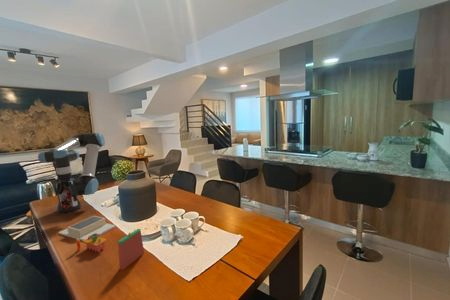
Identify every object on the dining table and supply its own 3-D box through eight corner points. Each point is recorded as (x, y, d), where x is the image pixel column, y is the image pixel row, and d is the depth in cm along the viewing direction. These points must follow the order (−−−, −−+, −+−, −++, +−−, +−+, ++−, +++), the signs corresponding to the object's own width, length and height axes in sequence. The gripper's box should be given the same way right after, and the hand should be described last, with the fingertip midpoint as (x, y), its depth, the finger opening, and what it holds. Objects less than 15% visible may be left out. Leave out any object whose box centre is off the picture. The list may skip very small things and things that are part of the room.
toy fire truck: (67, 210, 135) (64, 195, 133) (59, 206, 141) (56, 191, 140) (79, 206, 140) (77, 191, 139) (71, 203, 147) (69, 188, 146)
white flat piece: (88, 220, 142) (87, 213, 142) (115, 226, 132) (115, 218, 131) (58, 233, 126) (57, 225, 125) (87, 242, 116) (86, 233, 115)
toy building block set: (122, 270, 93) (119, 240, 91) (73, 252, 107) (69, 226, 105) (144, 253, 104) (141, 226, 102) (96, 239, 118) (93, 215, 116)
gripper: (46, 173, 139) (51, 204, 142) (69, 176, 129) (75, 209, 132) (59, 170, 146) (63, 200, 149) (82, 172, 136) (86, 204, 139)
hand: (69, 204), depth 141 cm, fingers closed on toy fire truck, 12 cm apart
